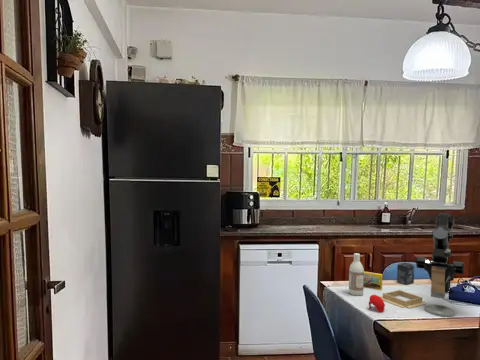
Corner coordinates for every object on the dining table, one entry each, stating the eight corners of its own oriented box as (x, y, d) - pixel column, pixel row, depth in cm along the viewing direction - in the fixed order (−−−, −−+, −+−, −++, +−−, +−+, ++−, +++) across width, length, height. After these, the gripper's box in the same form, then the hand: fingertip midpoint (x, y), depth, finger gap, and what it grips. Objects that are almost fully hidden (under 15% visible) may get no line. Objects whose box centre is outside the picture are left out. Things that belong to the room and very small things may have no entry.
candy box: (349, 285, 192) (350, 269, 192) (350, 284, 194) (351, 269, 194) (381, 290, 184) (381, 274, 184) (382, 289, 185) (382, 273, 185)
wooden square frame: (398, 293, 180) (398, 288, 180) (428, 303, 166) (429, 298, 166) (376, 297, 172) (376, 292, 172) (406, 309, 158) (406, 303, 158)
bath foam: (353, 296, 174) (354, 255, 173) (346, 291, 180) (346, 252, 180) (366, 295, 175) (367, 255, 175) (358, 291, 182) (359, 252, 182)
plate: (443, 306, 163) (443, 303, 162) (462, 316, 151) (462, 314, 151) (418, 306, 161) (418, 304, 161) (435, 317, 149) (435, 314, 149)
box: (406, 285, 193) (406, 266, 193) (396, 282, 198) (397, 263, 198) (414, 283, 197) (414, 264, 197) (404, 280, 202) (405, 262, 202)
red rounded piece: (363, 299, 160) (368, 296, 155) (374, 294, 162) (379, 290, 157) (373, 316, 157) (378, 314, 152) (384, 311, 158) (390, 308, 153)
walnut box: (431, 293, 160) (432, 266, 160) (444, 295, 157) (445, 268, 157) (430, 296, 156) (431, 269, 155) (444, 299, 153) (444, 271, 153)
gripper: (416, 239, 164) (413, 268, 155) (464, 244, 154) (463, 275, 145) (418, 253, 171) (414, 281, 162) (464, 258, 161) (463, 289, 152)
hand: (438, 281), depth 155 cm, fingers closed on walnut box, 5 cm apart
